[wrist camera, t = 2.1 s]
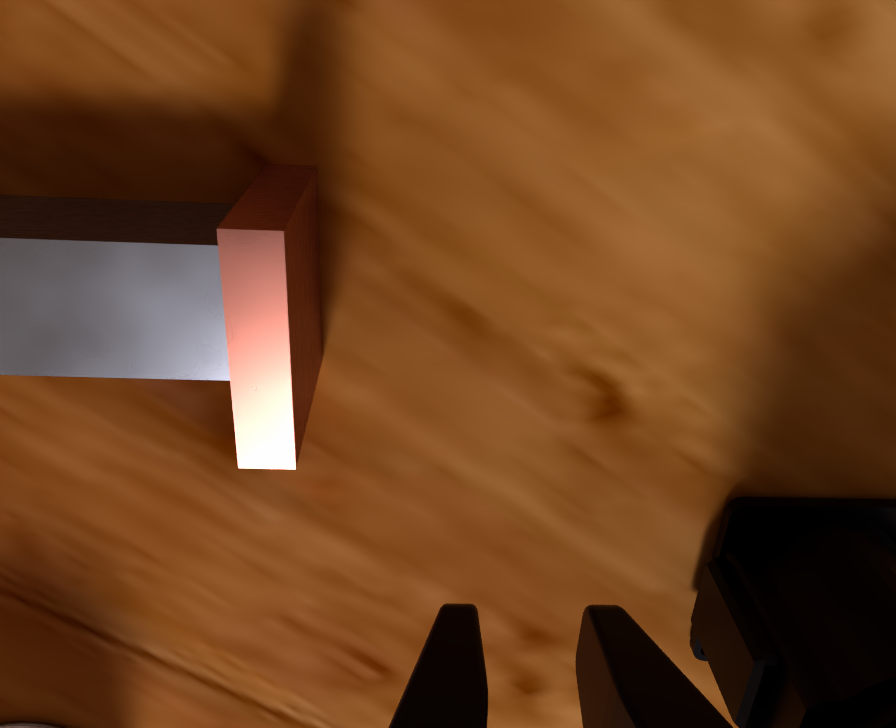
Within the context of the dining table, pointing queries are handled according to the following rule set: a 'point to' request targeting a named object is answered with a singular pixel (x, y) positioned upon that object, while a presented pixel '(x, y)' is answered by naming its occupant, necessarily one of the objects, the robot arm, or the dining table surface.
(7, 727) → the can
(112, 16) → the dining table surface
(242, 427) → the l-shaped block
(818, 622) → the robot arm
